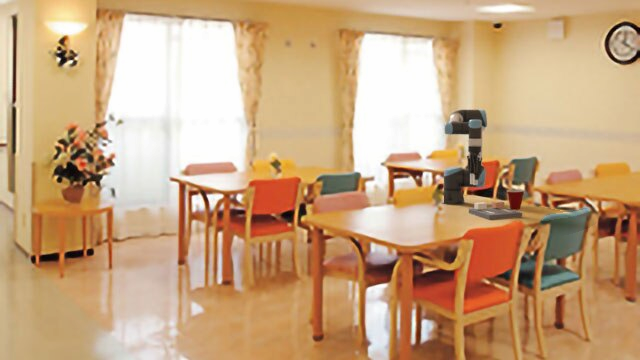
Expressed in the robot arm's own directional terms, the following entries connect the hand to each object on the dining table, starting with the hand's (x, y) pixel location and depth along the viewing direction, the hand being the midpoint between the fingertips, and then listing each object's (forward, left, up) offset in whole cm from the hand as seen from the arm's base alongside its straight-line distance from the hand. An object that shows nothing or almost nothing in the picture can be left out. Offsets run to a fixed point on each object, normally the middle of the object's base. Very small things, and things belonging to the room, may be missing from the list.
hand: (473, 184), depth 390 cm
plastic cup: (+2, +28, -17) cm, 33 cm away
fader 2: (+8, +12, -14) cm, 20 cm away
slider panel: (+14, +6, -17) cm, 22 cm away
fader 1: (+8, 0, -14) cm, 16 cm away
